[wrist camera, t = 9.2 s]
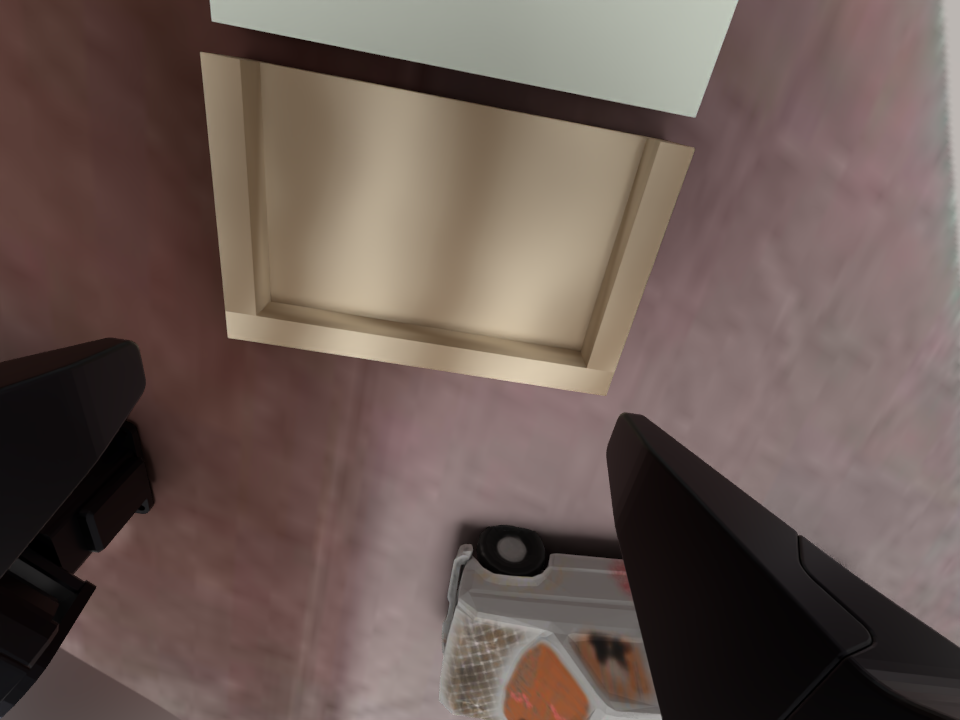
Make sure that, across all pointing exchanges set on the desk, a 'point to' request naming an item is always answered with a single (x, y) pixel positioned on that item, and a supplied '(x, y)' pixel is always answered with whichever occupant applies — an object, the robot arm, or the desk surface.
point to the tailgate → (523, 40)
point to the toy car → (542, 635)
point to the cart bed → (430, 225)
